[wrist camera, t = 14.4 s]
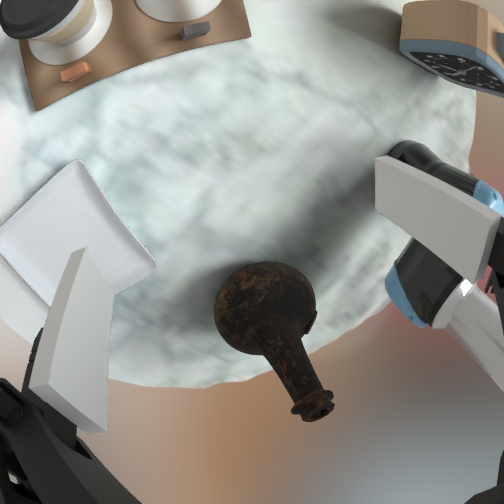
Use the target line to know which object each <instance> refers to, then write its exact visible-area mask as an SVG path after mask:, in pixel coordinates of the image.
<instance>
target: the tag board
mask: <svg viewBox="0 0 504 504" xmlns="http://www.w3.org/2000/svg"><path fill="white" fill-rule="evenodd" d="M94 4H95V7H96V10H97V16H96V21H95V23H94V25H93V27H92V29H91V30H90V31H89V32H88V33H87V34H86V35H85V36H84V37H83V38H81V39H80V40H78V41H76V42H74V43H70V44H60V43H47V42H40V41H32V40H26V39H19V44H20V49H21V54H22V59H23V63H24V67H25V72H26V76H27V80H28V84H29V87H30V91H31V95H32V98H33V101H34V105H35V108H36V111H40V110H42V109H43V108H45V107H47V106H49V105H51V104H52V103H54V102H56V101H58V100H60V99H62V98H64V97H66V96H68V95H70V94H72V93H74V92H76V91H78V90H80V89H82V88H84V87H86V86H88V85H91V84H93V83H95V82H97V81H100V80H102V79H104V78H107V77H109V76H111V75H114V74H116V73H119V72H122V71H124V70H127V69H130V68H132V67H135V66H138V65H141V64H144V63H147V62H150V61H153V60H156V59H159V58H162V57H166V56H169V55H172V54H176V53H180V52H183V51H187V50H191V49H195V48H199V47H204V46H208V45H213V44H217V43H222V42H228V41H233V40H239V39H245V38H249V37H251V32H250V28H249V23H248V19H247V15H246V11H245V7H244V3H243V0H94Z"/></svg>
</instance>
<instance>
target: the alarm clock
mask: <svg viewBox="0 0 504 504" xmlns="http://www.w3.org/2000/svg"><path fill="white" fill-rule="evenodd" d="M399 50H400V52H401V53H402V54H403V55H405V56H406V57H408V58H409V59H411V60H413V61H414V62H416V63H418V64H420V65H421V66H423V67H425V68H427V69H428V70H430V71H431V72H433V73H435V74H436V75H438V76H440V77H442V78H444V79H445V80H447V81H450V82H452V83H454V84H457V85H460V86H463V87H466V88H470V89H474V90H478V91H482V92H485V93H489V94H493V95H496V96H499V97H503V98H504V27H503V26H502V24H501V23H500V22H499V21H498V20H497V19H496V18H495V17H494V16H493V15H492V14H490V13H489V12H488V11H487V10H485V9H483V8H481V7H480V6H478V5H475V4H472V3H469V2H466V1H461V0H426V1H415V2H409V3H407V4H405V5H404V6H403V14H402V25H401V35H400V44H399Z"/></svg>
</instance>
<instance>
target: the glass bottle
mask: <svg viewBox="0 0 504 504" xmlns="http://www.w3.org/2000/svg"><path fill="white" fill-rule="evenodd" d="M316 316H317V311H316V302H315V295H314V291H313V288H312V286H311V284H310V282H309V281H308V280H307V279H306V277H305V276H304V275H303V274H302V273H301V272H299V271H298V270H296V269H295V268H293V267H291V266H288V265H285V264H282V263H278V262H260V263H255V264H251V265H248V266H246V267H244V268H242V269H240V270H239V271H237V272H236V273H234V274H233V275H232V276H231V277H230V278H229V279H228V280H227V281H226V282H225V283H224V285H223V286H222V288H221V289H220V291H219V293H218V296H217V298H216V302H215V306H214V319H215V323H216V326H217V329H218V331H219V333H220V335H221V336H222V338H223V339H224V340H225V341H226V342H227V343H228V344H229V345H230V346H231V347H233V348H234V349H236V350H238V351H240V352H243V353H246V354H251V355H263V356H264V357H265V358H266V359H267V360H268V362H269V363H270V365H271V366H272V368H273V369H274V370H275V372H276V373H277V375H278V376H279V378H280V379H281V381H282V383H283V384H284V386H285V388H286V389H287V391H288V393H289V395H290V396H291V398H292V400H293V402H294V404H295V405H294V406H293V408H292V409H291V413H292V414H300V415H301V418H302V420H303V421H306V422H313V421H316V420H319V419H321V418H323V417H324V416H326V415H328V414H329V413H330V412H331V411H332V410H333V409H334V405H335V404H334V403H332V402H331V400H332V398H333V397H334V395H333V392H331V391H330V390H324V389H323V387H322V385H321V383H320V381H319V379H318V377H317V375H316V373H315V371H314V369H313V367H312V364H311V363H310V360H309V358H308V356H307V353H306V351H305V349H304V346H303V343H302V340H301V338H302V337H303V336H304V334H308V333H309V331H310V329H311V327H312V326H313V323H314V321H315V319H316Z"/></svg>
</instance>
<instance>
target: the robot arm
mask: <svg viewBox="0 0 504 504" xmlns="http://www.w3.org/2000/svg"><path fill="white" fill-rule="evenodd" d="M375 210H376V211H378V212H379V213H380V214H382V215H383V216H385V217H386V218H388V219H389V220H390V221H392V222H393V223H395V224H396V225H397V226H399V227H400V228H402V229H403V230H404V231H406V232H407V233H408V234H410V235H411V236H412V238H411V239H410V241H409V242H408V244H407V245H406V247H405V248H404V250H403V251H402V253H401V254H400V256H399V257H398V258H397V259H396V260H395V261H394V264H393V267H392V268H391V270H390V271H389V273H388V274H387V276H386V278H385V287H386V291H387V293H388V295H389V297H390V298H391V300H392V301H393V303H394V304H395V305H396V307H397V308H398V309H399V310H400V311H401V313H402V314H403V315H404V316H405V317H408V319H409V320H410V321H411V322H412V323H413V324H415V325H416V326H418V327H425V326H427V325H428V324H429V325H430V326H431V327H432V328H433V329H446V330H447V331H448V332H449V333H450V334H451V335H453V337H454V338H455V339H456V340H457V341H458V342H459V343H460V344H461V345H462V346H463V347H464V348H465V349H466V350H467V351H468V352H469V353H470V354H471V355H472V357H473V358H474V359H475V360H476V361H477V362H478V363H479V364H480V365H481V366H482V367H483V368H484V370H485V371H486V372H487V373H488V374H489V375H490V376H491V378H492V379H493V380H494V381H495V382H496V383H497V384H498V386H499V387H500V388H501V389H502V390H503V391H504V218H503V214H504V206H503V200H502V197H501V195H500V194H499V192H497V190H496V189H494V188H492V187H491V186H489V185H488V184H486V183H485V182H484V181H483V180H479V179H477V178H475V177H473V176H471V175H469V174H467V173H465V172H463V171H461V170H459V169H457V168H455V167H453V166H450V165H448V164H446V163H444V162H442V161H441V160H440V159H439V158H438V157H437V156H436V155H435V154H434V153H433V152H432V151H431V150H430V149H429V148H428V147H426V146H425V145H423V144H421V143H418V142H415V141H405V142H402V143H400V144H399V145H397V146H396V147H395V148H394V149H393V150H392V151H391V152H390V154H389V155H388V156H387V155H386V156H381V157H377V158H375ZM487 265H489V266H490V267H491V268H492V271H491V274H490V276H489V279H488V282H487V285H486V287H485V293H487V292H488V290H489V287H490V286H492V285H493V287H492V289H491V293H494V294H495V297H496V301H497V305H498V306H497V305H496V304H495V303H494V302H493V301H492V300H491V299H490V298H489V297H487V296H486V295H485V294H484V293H483V292H482V291H481V290H480V289H478V287H477V284H476V283H477V282H478V281H480V280H481V279H482V278H483V277H484V274H485V271H486V268H487ZM113 305H114V295H113V293H112V292H111V290H110V288H109V287H108V285H107V283H106V281H105V280H104V278H103V276H102V274H101V273H100V271H99V269H98V267H97V265H96V264H95V262H94V260H93V258H92V256H91V254H90V252H89V250H88V249H87V247H84V248H82V249H79V250H77V251H74V252H72V253H71V255H70V258H69V260H68V262H67V265H66V267H65V270H64V272H63V275H62V277H61V280H60V282H59V285H58V288H57V290H56V293H55V296H54V299H53V301H52V304H51V307H50V310H49V313H48V316H47V319H46V322H45V326H44V327H43V328H41V330H40V332H39V333H38V335H37V336H36V338H35V340H34V343H33V347H32V351H31V352H32V353H31V354H30V358H29V363H28V365H27V370H26V373H25V378H24V382H23V387H22V391H21V393H20V392H19V391H18V390H17V389H16V388H15V387H14V386H13V385H12V384H10V383H9V382H8V381H7V380H6V379H4V378H0V504H142V503H141V502H140V501H138V500H137V499H136V498H135V497H134V496H133V495H132V494H131V493H130V492H129V491H128V490H127V489H126V488H125V487H124V486H123V485H122V484H121V483H120V482H119V481H118V480H117V479H116V478H115V477H114V476H113V475H112V474H111V473H110V472H109V471H108V470H107V469H106V468H105V466H104V465H103V464H102V463H101V462H100V461H99V460H98V458H97V457H96V456H95V455H94V454H93V453H92V451H91V450H90V449H89V448H88V447H87V445H86V444H85V443H84V442H83V440H81V439H80V438H79V437H78V436H76V433H77V427H78V428H80V429H81V430H83V431H84V432H86V433H87V434H95V433H103V432H107V379H108V359H109V344H110V333H111V322H112V313H113ZM8 473H9V474H11V475H13V476H15V477H16V478H17V482H18V484H15V483H13V482H11V481H10V478H9V474H8ZM465 504H504V451H503V453H502V456H501V459H500V464H499V473H498V480H497V486H495V487H493V488H491V489H489V490H486V491H484V492H481V493H478V494H476V495H474V496H473V497H472V498H470V499H469V500H468V501H467V502H466V503H465Z"/></svg>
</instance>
